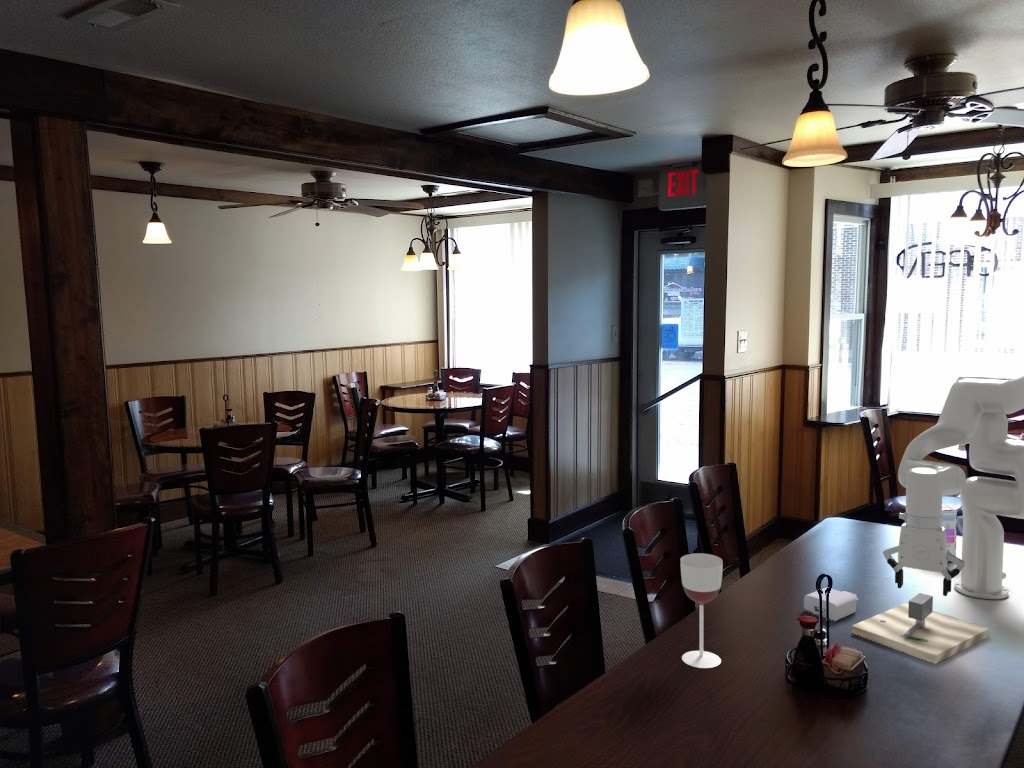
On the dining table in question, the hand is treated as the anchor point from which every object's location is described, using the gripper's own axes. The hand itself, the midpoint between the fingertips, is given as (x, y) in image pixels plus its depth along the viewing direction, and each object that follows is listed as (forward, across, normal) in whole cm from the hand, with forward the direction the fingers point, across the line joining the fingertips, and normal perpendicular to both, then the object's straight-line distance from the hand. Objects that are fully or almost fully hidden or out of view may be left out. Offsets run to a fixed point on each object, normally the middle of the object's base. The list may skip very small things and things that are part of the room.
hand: (922, 590), depth 183 cm
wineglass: (+9, -38, -42) cm, 57 cm away
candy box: (+13, -6, +65) cm, 66 cm away
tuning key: (+8, -1, -4) cm, 9 cm away
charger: (+11, -20, +5) cm, 24 cm away
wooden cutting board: (+11, 0, -1) cm, 11 cm away
